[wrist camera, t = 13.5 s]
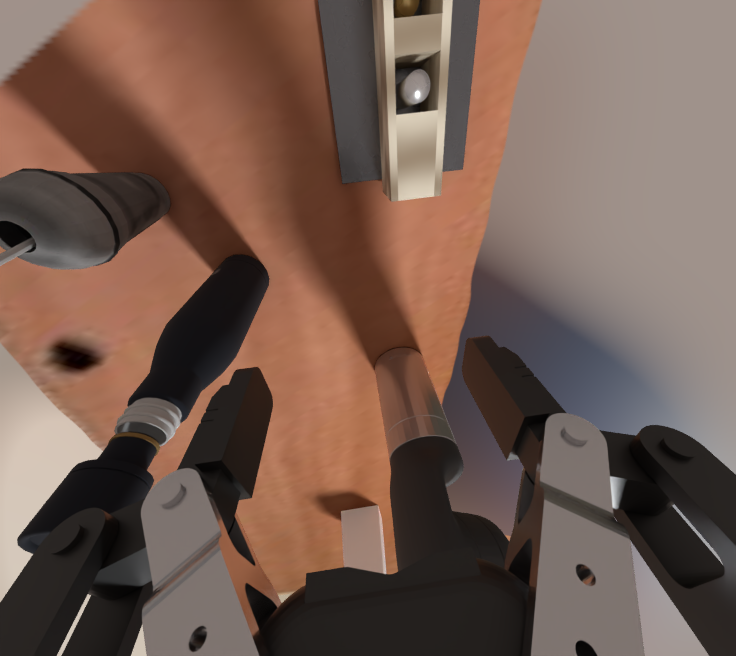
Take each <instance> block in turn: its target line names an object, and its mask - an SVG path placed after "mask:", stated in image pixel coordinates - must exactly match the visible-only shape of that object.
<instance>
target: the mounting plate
mask: <svg viewBox="0 0 736 656" xmlns="http://www.w3.org/2000/svg"><path fill="white" fill-rule="evenodd" d="M318 4H319V11H320V19H321V26H322V34H323V41H324V49H325V56H326V64H327V71H328V79H329V86H330V94H331V101H332V109H333V116H334V124H335V132H336V139H337V147H338V154H339V162H340V169H341V177H342V184H344V183H353V182H361V181H370V180H378V179H382V168H381V150H380V132H379V114H378V97H377V79H376V61H375V43H374V26H373V8H372V0H318ZM479 5H480V0H453V3H452V19H451V36H450V53H449V69H448V86H447V102H446V119H445V136H444V152H443V169H442V172H445V171H453V170H462V169H463V163H464V153H465V143H466V133H467V123H468V113H469V104H470V94H471V84H472V74H473V64H474V54H475V44H476V34H477V24H478V15H479ZM393 15H394V18H402V17H412V16H421V15H422V0H393ZM429 91H430V78H429V76H428V74H427V73H426V72H425V71H424V70H421V67H412V68H404V69H395V93H396V115H401V114H409V113H418V112H420V102H422V101H423V100H424V99H425V98H426V97H427V96H428V94H429Z"/></svg>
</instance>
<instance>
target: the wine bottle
mask: <svg viewBox="0 0 736 656" xmlns="http://www.w3.org/2000/svg"><path fill="white" fill-rule="evenodd" d="M268 286H269V276H268V272H267V271H266V269H265V268H264V266H263V265H262V264H261V263H260V262H259V261H258V260H256V259H254V258H252V257H250V256H246V255H233V256H230V257H228V258H226V259H225V260H224V261H223V262H222V263H221V265H220V266H219V267H218V268H217V269H216V270H215V271H214V272H213V273H212V275H211V276H210V277H209V278H208V279H207V280H206V281H205V282H204V283H203V284H202V286H201V287H200V288H199V289H198V290H197V291H196V292H195V293H194V294H193V296H192V297H191V298H190V299H189V300H188V301H187V302H186V303H185V304H184V305H183V307H182V308H181V309H180V310H179V311H178V312H177V313H176V314H175V315H174V317H173V318H172V319H171V320H170V321H169V322H168V323H167V324H166V326H165V328H164V330H163V332H162V334H161V336H160V339H159V341H158V343H157V346H156V349H155V353H154V357H153V361H152V365H151V370H150V373H149V374H148V376H147V377H146V378H145V379H144V381H143V382H142V383H141V384H140V386H139V387H138V388H137V390H136V391H135V392H134V393H133V395H132V396H131V397H130V398H129V401H128V408H126V409H125V412H124V414H123V415H122V416H121V417H119V418H118V421H117V426H116V427H115V433H116V435H114V436H113V437H112V438H111V439H110V441H109V443H108V446H107V447H106V448H105V450H104V451H103V452H102V454H101V455H100V457H99V458H98V459H96V460H88V461H85V462H82V463H79V464H77V465H76V466H75V467H74V468H73V469H72V470H71V471H70V473H69V474H68V475H67V477H66V478H65V479H64V480H63V481H62V483H61V484H60V485H59V486H58V488H57V489H56V490H55V492H54V493H53V494H52V495H51V497H50V498H49V499H48V500H47V501H46V503H45V504H44V505H43V507H42V508H41V509H40V510H39V512H38V513H37V514H36V515H35V517H34V518H33V519H32V521H31V522H30V523H29V524H28V525H27V527H26V528H25V529H24V531H23V532H22V533H21V534H20V536H19V537H18V539H17V541H18V546H20V547H21V548H22V549H23V550H25V551H27V552H30V553H32V554H34V553H35V551H36V550H37V548H38V547H39V545H40V544H41V543H42V541H43V540H44V539H45V538H46V537H47V536H48V535H49V534H50V533H51V532H52V531H53V530H54V529H55V528H56V527H57V526H58V525H59V524H61V523H62V522H63V521H65V520H66V519H67V518H69V517H70V516H72V515H74V514H76V513H78V512H80V511H82V510H85V509H88V508H99V509H102V510H103V511H105V512H107V513H108V514H111V513H113V512H115V511H118V510H120V509H122V508H124V507H127V506H129V505H131V504H133V503H135V502H138V501H140V500H142V499H144V498H146V496H147V494H148V492H149V491H150V489H151V487H152V485H153V482H154V479H153V476H152V475H151V474H150V473H149V472H148V471H147V469H148V467H149V465H150V463H151V462H152V460H153V458H154V456H155V455H157V454H158V452H159V450H160V446H162V445H164V444H166V443H167V442H168V440H169V439H171V438H172V437H173V436H174V434H175V432H176V429H177V428H178V427H179V425H180V423H182V422H183V421H184V420H186V419H187V417H188V415H189V413H190V411H191V409H192V408H193V406H194V404H195V402H196V400H197V398H198V396H199V394H200V393H201V391H202V390H204V389H205V388H206V387H207V386H208V385H209V384H211V383H212V382H213V381H214V380H215V379H216V378H218V377H219V376H220V375H221V374H222V373H223V372H224V371H225V370H226V368H227V367H228V366H229V365H230V364H231V362H232V361H233V360H234V358H235V357H236V355H237V353H238V351H239V349H240V347H241V345H242V343H243V340H244V338H245V336H246V334H247V332H248V329H249V327H250V325H251V323H252V321H253V319H254V316H255V314H256V312H257V310H258V308H259V305H260V303H261V301H262V299H263V297H264V294H265V292H266V290H267V288H268Z"/></svg>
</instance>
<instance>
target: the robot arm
mask: <svg viewBox="0 0 736 656" xmlns="http://www.w3.org/2000/svg"><path fill="white" fill-rule="evenodd" d="M462 372H463V377H464V381H465V383H466V385H467V387H468V388H469V390H470V392H471V394H472V396H473V398H474V400H475V402H476V403H477V405H478V407H479V409H480V411H481V413H482V415H483V417H484V418H485V420H486V422H487V424H488V426H489V428H490V429H491V431H492V433H493V435H494V437H495V439H496V441H497V443H498V444H499V447H500V448H501V450H502V452H503V454H504V456H505V458H506V460H507V461H508V460H514V459H520V461H521V463H522V465H523V466H524V468H523V470H522V476H521V483H520V489H519V495H518V502H517V508H516V515H515V521H514V527H513V531H512V535H511V538H510V541H508V539H507V538H506V536H505V535H504V534H503V532H502V531H501V530H500V529H499V528H498V527H497V526H496V525H495V524H494V523H493V522H491V521H490V520H488V519H486V518H484V517H481V516H478V515H473V514H468V513H461V512H454V511H452V510H451V506H450V502H449V498H448V494H447V490H446V487H447V486H449V485H451V484H452V483H454V482H455V481H456V480H457V479H458V478H459V477H460V476H461V474H462V472H463V460H462V457H461V454H460V452H459V449H458V447H457V444H456V442H455V439H454V437H453V434H452V432H451V429H450V427H449V424H448V422H447V419H446V416H445V414H444V411H443V409H442V406H441V404H440V401H439V398H438V396H437V393H436V391H435V388H434V385H433V383H432V380H431V378H430V375H429V372H428V370H427V367H426V365H425V362H424V359H423V357H422V356H421V354H420V353H419V352H417V351H416V350H414V349H411V348H405V347H403V348H395V349H392V350H389V351H387V352H386V353H384V354H383V355H382V356H380V357H379V359H378V360H377V362H376V364H375V374H376V380H377V387H378V393H379V399H380V405H381V411H382V417H383V423H384V430H385V436H386V441H387V447H388V453H389V459H390V465H391V481H390V499H391V508H392V517H393V527H394V537H395V548H396V557H397V566H398V572H397V573H395V574H383V573H378V572H372V571H367V570H362V569H357V568H351V567H343V568H337V569H331V570H324V571H318V572H312V573H306V585H305V586H303V587H301V588H300V589H298V590H297V591H296V592H294V593H293V594H292V595H290V596H289V597H288V598H287V599H286V600H285V601H284V602H283V603H281V601H280V599H279V597H278V595H277V593H276V591H275V589H274V587H273V585H272V583H271V582H270V580H269V579H268V577H267V576H266V574H265V573H264V571H263V570H262V568H261V566H260V564H259V562H258V559H257V557H256V555H255V553H254V551H253V548H252V546H251V544H250V542H249V539H248V537H247V535H246V533H245V531H244V528H243V526H242V524H241V522H240V520H239V517H238V515H237V514H236V509H237V505H238V501H239V500H242V499H249V498H252V495H253V490H254V486H255V482H256V477H257V473H258V469H259V465H260V460H261V456H262V452H263V447H264V443H265V439H266V434H267V430H268V426H269V422H270V417H271V413H272V408H273V399H272V394H271V392H270V390H269V387H268V385H267V383H266V381H265V379H264V377H263V374H262V372H261V370H260V369H259V368H258V367H253V368H245V369H238V370H236V371H235V372H234V374H233V376H232V378H231V381H230V383H229V385H224V386H222V387H221V388H220V389H219V390H218V391H217V393H216V394H215V395H214V396H213V397H212V398H211V400H210V403H209V405H208V407H207V409H206V413H204V415H203V417H202V419H201V424H199V426H198V428H197V430H196V432H195V434H194V436H193V438H192V440H191V442H190V444H189V447H188V449H187V451H186V453H185V455H184V457H183V459H182V461H181V463H180V465H179V467H178V469H177V471H174V472H172V473H170V474H169V475H167V476H165V477H164V478H163V479H161V480H160V481H159V482H158V483H157V484H156V485H155V486H154V487H153V488H152V489H151V491H150V492H149V493H148V495H147V496H146V498H144V499H142V500H140V501H138V502H135V503H133V504H131V505H129V506H127V507H124V508H122V509H120V510H118V511H115V512H113V513H111V514H108V513H107V512H105V511H103V510H102V509H99V508H88V509H85V510H82V511H80V512H78V513H76V514H74V515H72V516H70V517H69V518H67V519H66V520H65V521H63V522H62V523H61V524H59V525H58V526H57V527H56V528H55V529H54V530H53V531H52V532H51V533H50V534H49V535H48V536H47V537H46V538H45V539H44V540H43V541H42V543H41V544H40V545H39V547H38V548H37V550H36V551H35V553H34V554H33V556H32V557H31V559H30V560H29V561H28V563H27V565H26V566H25V567H24V569H23V570H22V572H21V573H20V575H19V576H18V578H17V579H16V581H15V582H14V583H13V585H12V586H11V588H10V589H9V591H8V592H7V594H6V595H5V597H4V598H3V600H2V601H1V602H0V656H57V654H58V652H59V650H60V648H61V645H62V644H63V642H64V640H65V638H66V636H67V634H68V632H69V630H70V628H71V626H72V624H73V622H74V620H75V618H76V616H77V614H78V612H79V610H80V608H81V606H82V604H83V602H84V600H85V598H86V596H87V594H89V595H91V597H90V599H89V601H88V603H87V605H86V607H85V609H84V611H83V613H82V615H81V618H80V620H79V622H78V623H77V625H76V628H75V630H74V632H73V634H72V636H71V638H70V640H69V642H68V644H67V646H66V648H65V650H64V652H63V654H62V656H131V653H132V651H133V648H134V645H135V642H136V639H137V637H138V634H139V631H140V628H141V626H142V624H143V631H144V639H145V646H146V653H147V656H645V655H644V647H643V639H642V631H641V623H640V614H639V607H638V598H637V591H636V583H635V574H634V566H633V558H632V549H631V542H630V540H631V541H632V543H633V545H634V546H635V547H636V549H637V550H638V552H639V553H640V555H641V556H642V558H643V559H644V561H645V562H646V564H647V565H648V566H649V568H650V569H651V571H652V572H653V574H654V575H655V577H656V578H657V580H658V581H659V583H660V584H661V586H662V587H663V588H664V590H665V591H666V593H667V594H668V596H669V597H670V599H671V600H672V602H673V603H674V605H675V606H676V608H677V609H678V610H679V612H680V613H681V615H682V616H683V617H684V619H685V621H686V622H687V624H688V625H689V627H690V628H691V629H692V631H693V632H694V634H695V635H696V637H697V638H698V640H699V641H700V642H701V644H702V646H703V647H704V648H705V650H706V651H707V653H708V654H709V656H736V475H735V474H734V473H733V472H732V471H731V470H730V469H729V468H728V467H726V466H725V465H724V464H723V463H722V462H721V461H720V460H718V459H717V458H716V457H715V456H714V455H713V454H712V453H711V452H710V451H708V450H707V449H706V448H705V447H704V446H703V445H701V444H700V443H699V442H697V441H696V440H695V439H693V438H691V437H690V436H688V435H686V434H684V433H682V432H680V431H677V430H675V429H672V428H669V427H665V426H659V425H650V426H646V427H644V428H643V429H641V431H640V432H639V433H638V434H637V435H636V436H635V435H628V434H620V433H613V432H606V431H601V430H598V429H597V428H596V427H595V426H594V425H593V424H591V423H590V422H588V421H587V420H585V419H583V418H581V417H578V416H576V415H572V414H567V413H566V412H565V411H564V410H563V408H562V407H561V406H560V405H559V404H558V403H557V401H556V400H555V399H554V398H553V397H552V396H551V394H550V393H549V392H548V391H547V390H546V388H545V387H544V386H543V385H542V384H541V382H540V381H539V380H538V379H537V378H536V377H534V374H533V373H532V372H531V371H530V369H529V368H527V367H526V365H525V363H523V361H522V360H521V359H520V358H519V356H518V355H517V354H515V353H513V352H512V351H510V350H509V349H507V348H505V347H500V348H499V347H498V346H497V345H496V343H495V342H494V341H493V340H492V338H491V337H490V336H481V337H474V338H468V339H467V341H466V345H465V352H464V358H463V365H462ZM674 504H675V505H676V506H677V508H678V509H679V510H680V511H681V512H682V513H683V515H684V516H685V517H686V518H687V519H688V520H689V521H690V523H691V524H692V525H693V526H694V527H695V528H696V530H697V531H698V532H699V533H700V534H701V535H702V536H703V538H704V539H705V540H706V541H707V542H708V543H709V544H710V546H711V547H712V548H713V549H714V550H715V551H716V553H717V554H718V556H719V557H720V559H721V561H722V563H723V565H722V564H721V562H720V561H719V560H718V559H717V558H716V557H715V555H714V554H713V553H712V552H711V551H710V550H709V548H708V547H707V546H706V545H705V544H704V543H703V542H702V540H701V539H700V538H699V537H698V536H697V534H696V533H695V532H694V531H693V530H692V529H691V527H690V526H689V525H688V524H687V523H686V522H685V520H683V518H682V517H681V516H680V515H679V513H678V512H677V511H676V510H675V509H674V508H673V507H672V505H674ZM614 517H615V518H616V520H617V521H618V522H617V521H616V520H615V518H614Z"/></svg>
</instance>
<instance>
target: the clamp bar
mask: <svg viewBox="0 0 736 656" xmlns="http://www.w3.org/2000/svg"><path fill="white" fill-rule="evenodd" d="M452 3H453V0H422V15H421V16H412V17H402V18H394V15H393V0H372V8H373V26H374V43H375V61H376V79H377V97H378V114H379V132H380V150H381V168H382V185H383V192H384V194H385V195H386V196H387V197H388V198H389V199H390V201H391V202H393V201H401V200H409V199H417V198H425V197H433V196H441V185H442V169H443V152H444V136H445V119H446V102H447V86H448V69H449V53H450V36H451V19H452ZM412 67H421V70H424V71H425V72H426V73H427V74H428V76H429V78H430V91H429V94H428V96H427V97H426V98H425V99H424V100H423V101H422V102H420V112H418V113H409V114H401V115H396V93H395V69H404V68H412Z"/></svg>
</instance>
